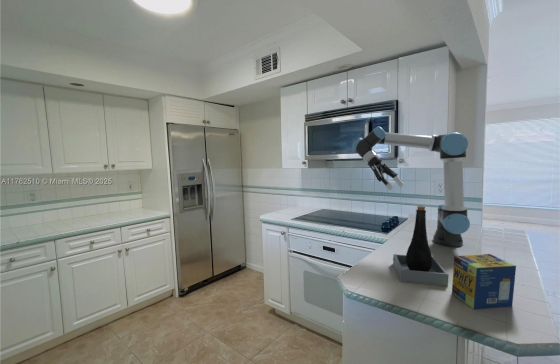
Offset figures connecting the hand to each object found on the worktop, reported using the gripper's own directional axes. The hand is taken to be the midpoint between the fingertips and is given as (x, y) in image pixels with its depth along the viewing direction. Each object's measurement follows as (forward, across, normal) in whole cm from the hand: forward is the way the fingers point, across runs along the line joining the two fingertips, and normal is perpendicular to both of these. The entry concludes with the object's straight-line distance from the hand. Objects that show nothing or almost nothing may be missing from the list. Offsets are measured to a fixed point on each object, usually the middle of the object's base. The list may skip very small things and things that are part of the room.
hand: (397, 187), depth 143 cm
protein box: (+56, +28, +6) cm, 63 cm away
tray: (+39, +23, -11) cm, 47 cm away
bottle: (+39, +22, -10) cm, 46 cm away
